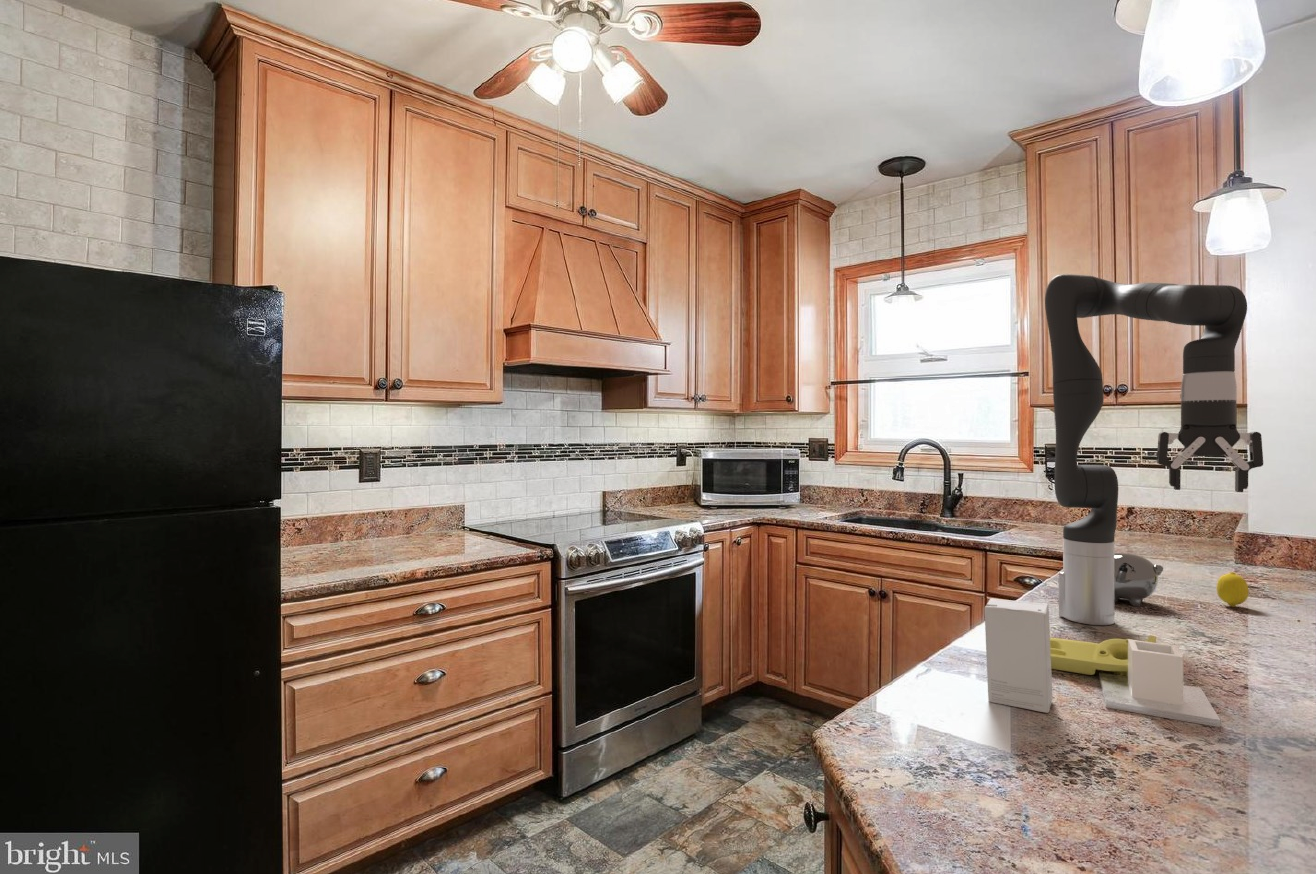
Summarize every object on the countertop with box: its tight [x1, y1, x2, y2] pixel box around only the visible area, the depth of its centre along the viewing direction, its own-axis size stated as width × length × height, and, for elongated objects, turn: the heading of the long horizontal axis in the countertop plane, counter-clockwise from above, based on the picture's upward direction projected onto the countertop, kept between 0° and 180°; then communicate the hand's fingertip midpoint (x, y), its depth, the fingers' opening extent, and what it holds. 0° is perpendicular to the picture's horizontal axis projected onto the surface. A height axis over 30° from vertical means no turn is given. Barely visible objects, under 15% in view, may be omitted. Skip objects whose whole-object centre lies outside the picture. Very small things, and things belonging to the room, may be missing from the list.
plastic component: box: [1050, 635, 1157, 677], centre depth 113 cm, size 20×7×10 cm
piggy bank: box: [1114, 552, 1164, 607], centre depth 156 cm, size 11×15×12 cm
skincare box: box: [984, 597, 1053, 714], centre depth 99 cm, size 8×6×15 cm
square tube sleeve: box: [1127, 638, 1184, 705], centre depth 99 cm, size 6×6×7 cm
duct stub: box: [1099, 672, 1221, 728], centre depth 99 cm, size 13×13×6 cm
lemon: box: [1216, 571, 1250, 608], centre depth 151 cm, size 6×6×8 cm
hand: (1207, 490), depth 116 cm, fingers open, 8 cm apart
